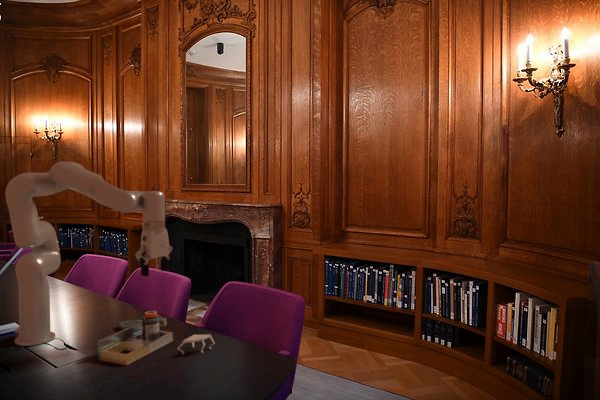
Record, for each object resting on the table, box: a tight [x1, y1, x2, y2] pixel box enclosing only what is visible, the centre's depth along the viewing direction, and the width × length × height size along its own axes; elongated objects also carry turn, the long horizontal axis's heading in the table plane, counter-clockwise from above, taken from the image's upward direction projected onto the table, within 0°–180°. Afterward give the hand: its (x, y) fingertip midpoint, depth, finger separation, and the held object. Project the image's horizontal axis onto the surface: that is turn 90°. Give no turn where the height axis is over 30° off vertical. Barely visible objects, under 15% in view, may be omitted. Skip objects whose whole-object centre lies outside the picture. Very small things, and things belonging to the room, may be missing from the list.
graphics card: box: [116, 313, 168, 330], centre depth 182 cm, size 17×4×12 cm
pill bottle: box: [142, 310, 161, 341], centre depth 162 cm, size 6×6×11 cm
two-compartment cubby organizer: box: [97, 322, 174, 366], centre depth 156 cm, size 12×24×6 cm, turn 160°
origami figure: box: [176, 333, 216, 355], centre depth 155 cm, size 12×8×5 cm
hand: (155, 273), depth 165 cm, fingers open, 9 cm apart
